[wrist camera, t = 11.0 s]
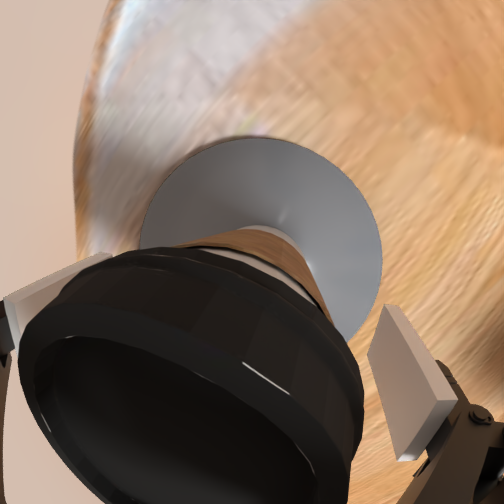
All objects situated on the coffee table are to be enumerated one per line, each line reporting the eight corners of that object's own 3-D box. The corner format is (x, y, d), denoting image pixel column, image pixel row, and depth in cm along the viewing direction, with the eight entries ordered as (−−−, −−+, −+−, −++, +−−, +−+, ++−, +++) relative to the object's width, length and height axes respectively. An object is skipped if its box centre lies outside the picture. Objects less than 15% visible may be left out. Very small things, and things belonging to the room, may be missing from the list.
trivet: (153, 131, 18) (149, 130, 17) (400, 165, 16) (404, 164, 16) (144, 343, 22) (140, 346, 22) (344, 383, 20) (345, 388, 20)
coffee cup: (230, 348, 20) (138, 543, 6) (172, 238, 19) (-37, 345, 4) (347, 305, 18) (404, 535, 4) (292, 179, 17) (247, 153, 2)
